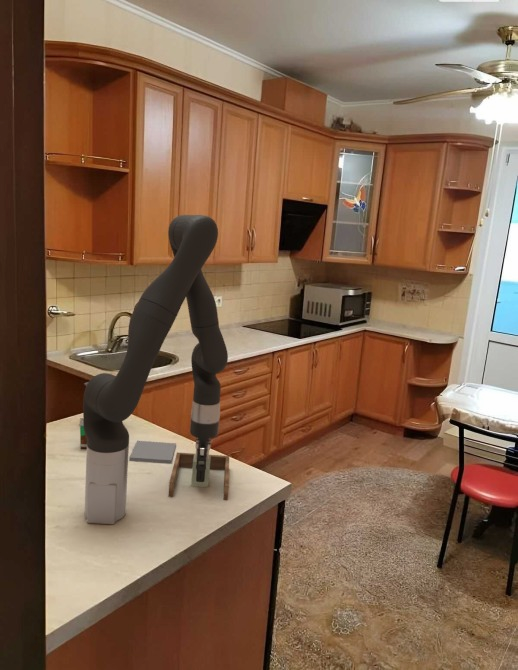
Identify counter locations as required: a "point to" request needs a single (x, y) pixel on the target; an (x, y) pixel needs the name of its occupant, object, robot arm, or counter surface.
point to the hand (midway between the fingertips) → (201, 473)
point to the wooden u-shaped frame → (187, 462)
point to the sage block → (194, 471)
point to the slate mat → (153, 452)
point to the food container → (82, 435)
